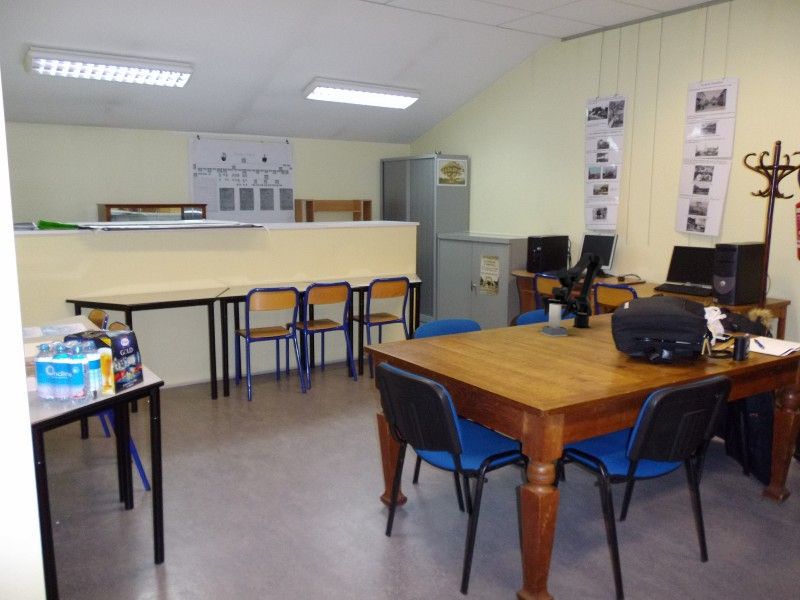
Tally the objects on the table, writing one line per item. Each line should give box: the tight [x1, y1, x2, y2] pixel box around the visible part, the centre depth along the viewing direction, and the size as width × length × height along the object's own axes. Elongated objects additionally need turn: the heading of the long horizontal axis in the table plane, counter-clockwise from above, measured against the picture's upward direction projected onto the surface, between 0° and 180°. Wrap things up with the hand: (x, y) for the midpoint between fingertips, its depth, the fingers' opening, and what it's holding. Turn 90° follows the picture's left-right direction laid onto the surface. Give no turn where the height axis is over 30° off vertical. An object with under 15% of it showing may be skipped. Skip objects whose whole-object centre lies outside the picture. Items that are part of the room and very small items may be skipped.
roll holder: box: [540, 325, 568, 338], centre depth 317 cm, size 9×9×4 cm
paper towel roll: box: [548, 304, 563, 329], centre depth 316 cm, size 6×6×14 cm
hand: (553, 316), depth 315 cm, fingers open, 9 cm apart
